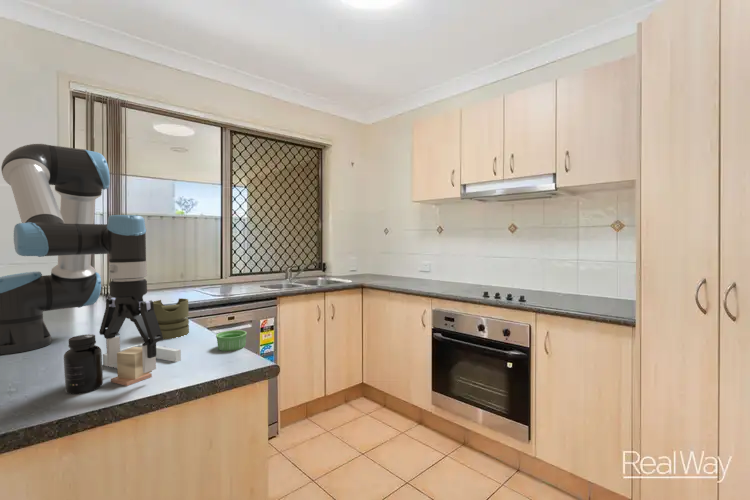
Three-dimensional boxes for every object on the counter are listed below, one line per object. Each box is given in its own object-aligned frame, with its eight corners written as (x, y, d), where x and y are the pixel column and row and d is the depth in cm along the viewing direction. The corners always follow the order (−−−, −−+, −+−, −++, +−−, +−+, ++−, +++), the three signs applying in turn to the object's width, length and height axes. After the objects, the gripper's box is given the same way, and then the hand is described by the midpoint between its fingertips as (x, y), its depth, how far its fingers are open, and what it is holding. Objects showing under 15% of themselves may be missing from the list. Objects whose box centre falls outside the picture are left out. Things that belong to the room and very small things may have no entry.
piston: (151, 300, 133) (187, 297, 138) (152, 333, 133) (187, 329, 139) (151, 305, 123) (189, 302, 129) (152, 341, 123) (190, 336, 129)
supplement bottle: (79, 383, 88) (77, 333, 88) (109, 382, 89) (108, 332, 88) (57, 395, 81) (54, 341, 81) (90, 394, 82) (88, 340, 81)
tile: (110, 382, 89) (110, 378, 89) (135, 373, 94) (135, 370, 94) (127, 385, 86) (127, 382, 86) (151, 376, 92) (151, 373, 92)
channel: (103, 365, 100) (102, 354, 100) (142, 353, 110) (142, 343, 110) (142, 373, 94) (142, 362, 94) (180, 360, 104) (180, 349, 104)
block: (134, 370, 94) (134, 346, 94) (151, 371, 93) (151, 348, 93) (117, 377, 89) (116, 353, 89) (135, 379, 88) (134, 354, 88)
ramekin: (245, 342, 122) (245, 328, 122) (248, 349, 114) (248, 335, 114) (215, 345, 118) (215, 332, 118) (216, 353, 110) (216, 339, 110)
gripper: (80, 278, 91) (83, 365, 91) (148, 283, 81) (150, 380, 82) (112, 275, 98) (114, 356, 98) (178, 279, 88) (180, 368, 89)
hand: (131, 367), depth 90 cm, fingers open, 12 cm apart
